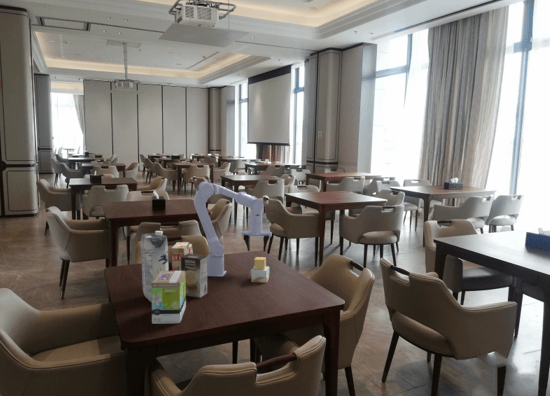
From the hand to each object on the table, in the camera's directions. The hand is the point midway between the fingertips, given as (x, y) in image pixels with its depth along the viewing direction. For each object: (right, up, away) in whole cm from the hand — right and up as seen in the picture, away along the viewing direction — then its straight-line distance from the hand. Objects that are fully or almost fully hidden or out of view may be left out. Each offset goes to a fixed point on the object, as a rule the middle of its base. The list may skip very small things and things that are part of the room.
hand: (256, 250), depth 211 cm
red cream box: (-38, -9, +9) cm, 40 cm away
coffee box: (-24, -14, -32) cm, 42 cm away
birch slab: (+2, -12, -13) cm, 18 cm away
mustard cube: (+2, -6, -14) cm, 15 cm away
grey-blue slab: (+2, -9, -14) cm, 17 cm away
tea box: (-29, -17, -54) cm, 64 cm away
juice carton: (-39, -15, -36) cm, 55 cm away
